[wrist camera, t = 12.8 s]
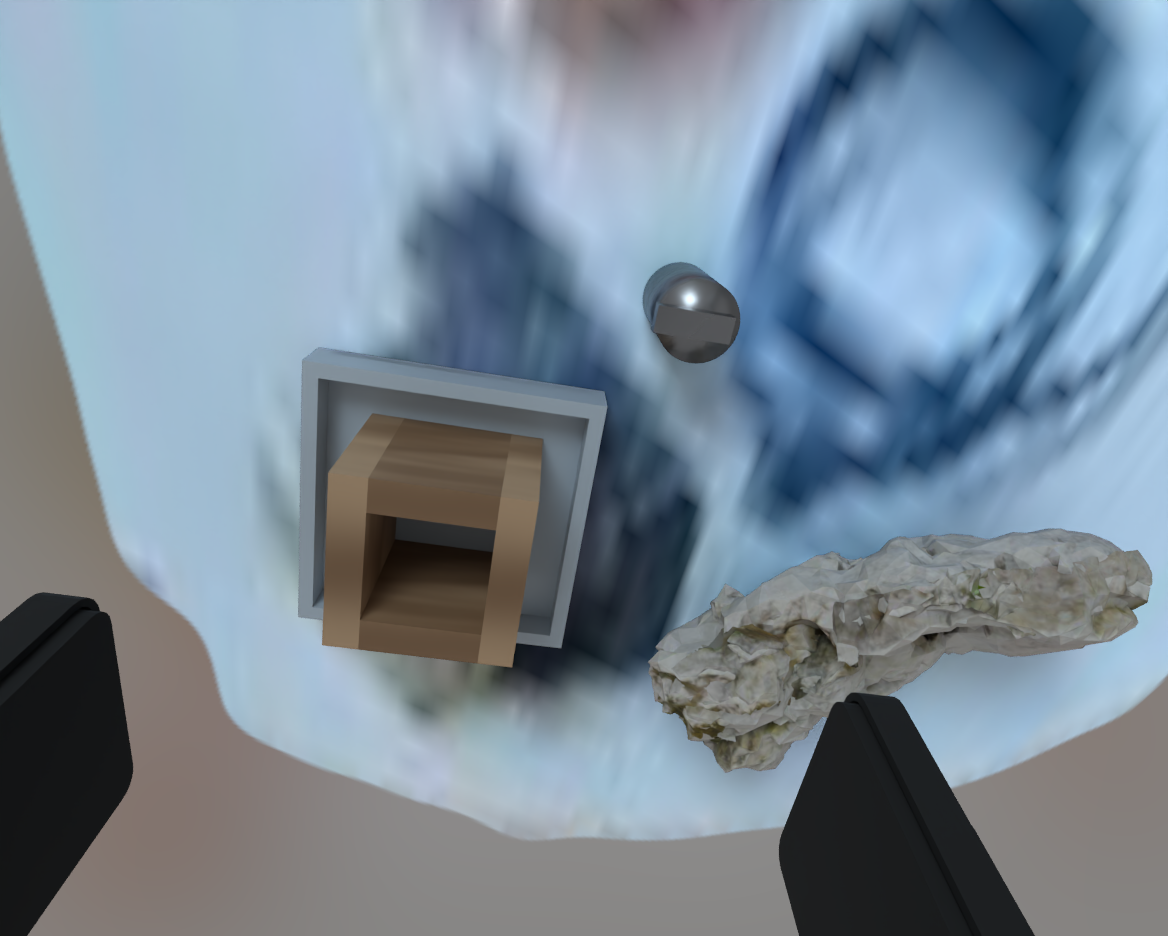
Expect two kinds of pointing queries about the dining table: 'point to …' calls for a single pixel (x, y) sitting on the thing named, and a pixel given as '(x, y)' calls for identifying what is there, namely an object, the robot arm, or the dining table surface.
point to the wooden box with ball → (426, 571)
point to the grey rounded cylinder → (690, 312)
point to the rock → (883, 629)
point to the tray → (468, 399)
